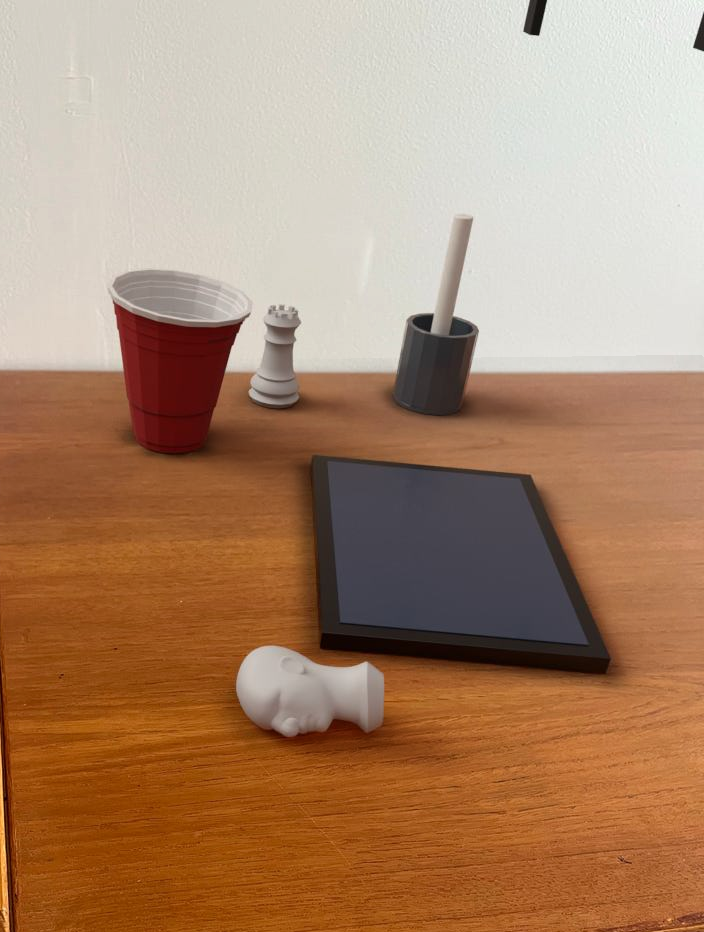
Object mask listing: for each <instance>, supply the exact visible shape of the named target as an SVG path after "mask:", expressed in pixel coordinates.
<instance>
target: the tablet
mask: <svg viewBox="0 0 704 932" xmlns="http://www.w3.org/2000/svg"><path fill="white" fill-rule="evenodd" d="M309 468H310V487H311V504H312V506H311V507H312V508H311V509H312V522H313V524H312V525H313V526H312V527H313V543H314V545H313V546H314V563H315V564H314V566H315V583H316V584H315V585H316V603H317V620H318V621H317V625H318V641H319V644H318V645H319V649H323V650H324V649H325V650H334V651H336V650H337V651H345V652H346V651H347V652H356V653H366V654H367V653H368V654H379V655H389V656H399V657H402V656H403V657H412V658H423V659H432V660H445V661H454V662H455V661H456V662H467V663H478V664H490V665H500V666H502V665H503V666H510V667H511V666H512V667H523V668H533V669H543V670H544V669H545V670H555V671H564V672H565V671H568V672H575V673H576V672H577V673H588V674H598V675H606V674H607V671H608V669H609V666H610V663H611V661H612V657H611V654H610V652H609V650H608V648H607V646H606V643H605V641H604V638H603V636H602V634H601V632H600V629H599V627H598V625H597V623H596V621H595V619H594V616H593V614H592V611H591V609H590V607H589V604H588V602H587V600H586V598H585V596H584V593H583V591H582V589H581V587H580V584H579V582H578V580H577V577H576V575H575V572H574V570H573V568H572V565H571V563H570V561H569V559H568V556H567V553H566V552H565V550H564V547H563V545H562V543H561V540H560V538H559V536H558V534H557V532H556V529H555V527H554V524H553V522H552V520H551V518H550V516H549V513H548V511H547V509H546V506H545V504H544V502H543V500H542V497H541V495H540V492H539V491H538V488H537V486H536V484H535V481H534V478H533V477H532V475H531V474H528V473H527V474H526V473H517V472H507V471H495V470H483V469H474V468H473V469H472V468H463V467H451V466H441V465H430V464H419V463H408V462H398V461H387V460H376V459H365V458H356V457H355V458H353V457H345V456H344V457H343V456H333V455H322V454H312V455H311V461H310V467H309Z"/></svg>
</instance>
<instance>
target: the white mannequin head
mask: <svg viewBox="0 0 704 932" xmlns="http://www.w3.org/2000/svg"><path fill="white" fill-rule="evenodd" d="M238 669H239V670H238V672H237V676H236V683H235V690H236V695H237V698H238V701H239V703H240V707H241V708H242V710H243V712H244V714H245V715H246V717H248V718H249V719H250V720H251V721H252V722H253V723H254V724H255V725H256V726H258V727H259V728H261V729H262V730H267V731H270V730H271V731H272V730H274V731H276V732H278V733H279V734H281V735H282V736H284V737H286V738H294V737H296V736H297V735H298V734H307V732H309V733H310V732H319V733H324V732H326V731H327V730H328V729H329V727H330V725H331V723H332V722H333V720H341V721H345V722H350V723H353V724H355V725H357V727H359V728H360V729H361V730H362V731H363V732H364V733H370V732H372V731H374V730H376V729H378V728H381V727H382V726H383V721H384V711H385V675H384V673H383V672H382V671H381V670H379V669H378V668H376V667H375V666H374V665H373V664H371V663H370V662H368V661H364V662H361V663H359V664H356V665H352V666H332V665H331V666H330V665H323V664H319V663H316V662H314V661H312V660H311V659H309V658H308V657H306V656H304V655H303V654H301V653H299V652H297V651H295V650H292V649H290V648H288V647H284V646H280V645H264V646H263V645H262V646H260V647H257V648H255V649H253V650H252V651H251V652H250V653H248V655H246V657H245V658H244V659H243V660H242V663H241V665H240V667H239V668H238Z"/></svg>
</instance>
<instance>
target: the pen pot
mask: <svg viewBox="0 0 704 932" xmlns="http://www.w3.org/2000/svg"><path fill="white" fill-rule="evenodd" d="M434 313H435V312H423V313H416V314H412V315H410V316H408V318H407V319H406V321H405V326H404V332H403V336H402V342H401V348H400V352H399V358H398V364H397V368H396V373H395V374H396V375H395V380H394V385H393V393H392V394H393V395H392V398H393V401H394V402H395V403H396V404H398V406H400V407H402V408H404V409H406V410H408V411H411V412H415V413H418V414H424V415H431V416H446V415H452V414H456V413H458V412H459V411H461V409H462V406H463V403H464V401H465V400H464V399H465V397H466V391H467V386H468V383H469V378H470V374H471V369H472V365H473V360H474V355H475V352H476V346H477V343H478V339H479V333H480V330H479V327H478V326H477V325H476V324H474V323H473V322H471V321H470V320H467V319H465V318H462V317H458V316H454V315H453V318H452V323H451V327H450V332H449V335H439V334H435V333H431V328H432V323H433V318H434Z"/></svg>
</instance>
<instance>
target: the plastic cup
mask: <svg viewBox="0 0 704 932" xmlns="http://www.w3.org/2000/svg"><path fill="white" fill-rule="evenodd" d="M106 287H107V292H108V294H109V295H110V297H111V300H112V304H113V309H114V311H113V312H114V315H115V318H116V319H115V320H116V329H117V331H118V336H119V347H120V353H121V361H122V369H123V375H124V377H123V378H124V384H125V392H126V393H125V394H126V399H127V400H128V406H129V413H130V421H131V428H132V432H133V434H134V438H135V440H136V441H137V443H138V444H139V445H141V447H144V448H146V449H147V450H151V451H154V452H158V453H166V454H185V453H190V452H193V451H197V450H199V449H200V448H202V447H203V446H204V445H205V442H206V439H207V438H208V435H209V431H210V427H211V424H212V423H211V422H212V420H213V416H214V411H215V408H216V407H217V403H218V400H219V396H220V393H221V389H222V385H223V381H224V377H225V373H226V371H227V367H228V366H227V365H228V363H229V360H230V355H231V351H232V347H233V346H235V345H234V344H235V341H236V339H237V335H238V334H239V332H240V330H241V327H242V325H243V323H244V322H245V321H246V320H247V319H248V318H250V315H251V314H252V311H253V300H252V299H250V297H249V296H247V294H246V293H245V292H244V291H243V290H240V289H239V288H237V287H235V286H233V285H231V284H229V283H227V282H225V281H223V280H219V279H216V278H212V277H210V276H206V275H204V274H200V273H194V272H189V271H183V270H178V269H167V268H166V269H164V268H139V269H138V268H137V269H129V270H125V271H123V272H120V273H116V274H115V275H112V276H111V277H110V280H109V281H108V283H107V285H106Z"/></svg>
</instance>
